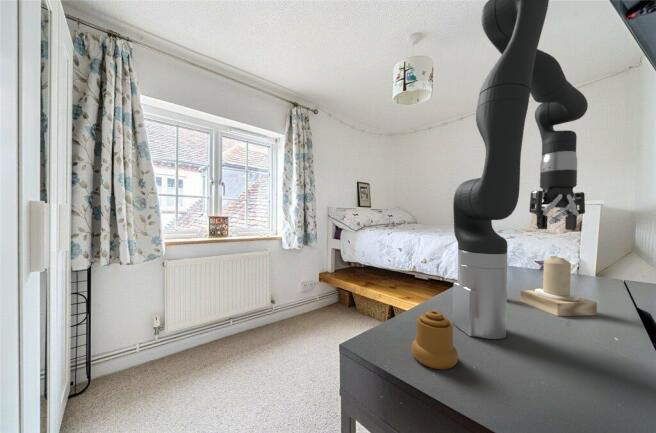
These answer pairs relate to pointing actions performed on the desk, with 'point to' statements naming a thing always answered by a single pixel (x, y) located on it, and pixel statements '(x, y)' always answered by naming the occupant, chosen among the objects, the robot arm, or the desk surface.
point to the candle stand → (558, 303)
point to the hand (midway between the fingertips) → (556, 229)
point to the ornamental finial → (434, 341)
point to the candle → (556, 276)
